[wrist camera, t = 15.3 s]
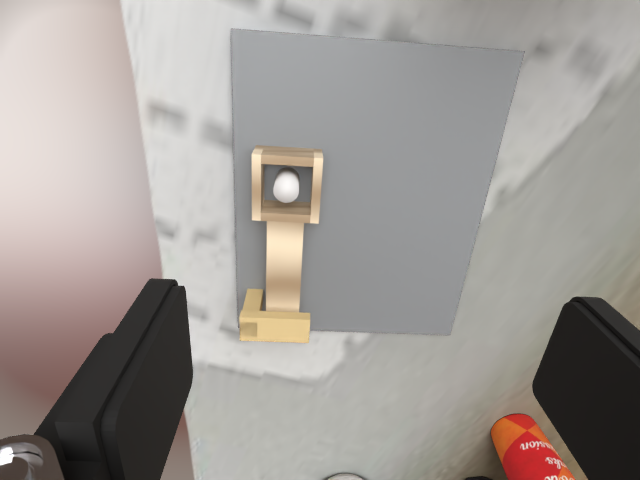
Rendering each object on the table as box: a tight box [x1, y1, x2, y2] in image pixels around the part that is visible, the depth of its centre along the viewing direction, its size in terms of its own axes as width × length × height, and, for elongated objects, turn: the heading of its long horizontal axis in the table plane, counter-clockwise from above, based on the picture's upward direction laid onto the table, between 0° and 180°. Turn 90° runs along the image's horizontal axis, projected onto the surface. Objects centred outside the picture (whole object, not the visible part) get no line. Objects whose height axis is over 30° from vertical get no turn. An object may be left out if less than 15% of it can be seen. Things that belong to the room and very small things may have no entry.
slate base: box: [231, 29, 525, 343], centre depth 34 cm, size 22×27×6 cm
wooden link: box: [252, 145, 323, 312], centre depth 35 cm, size 17×5×3 cm, turn 176°
